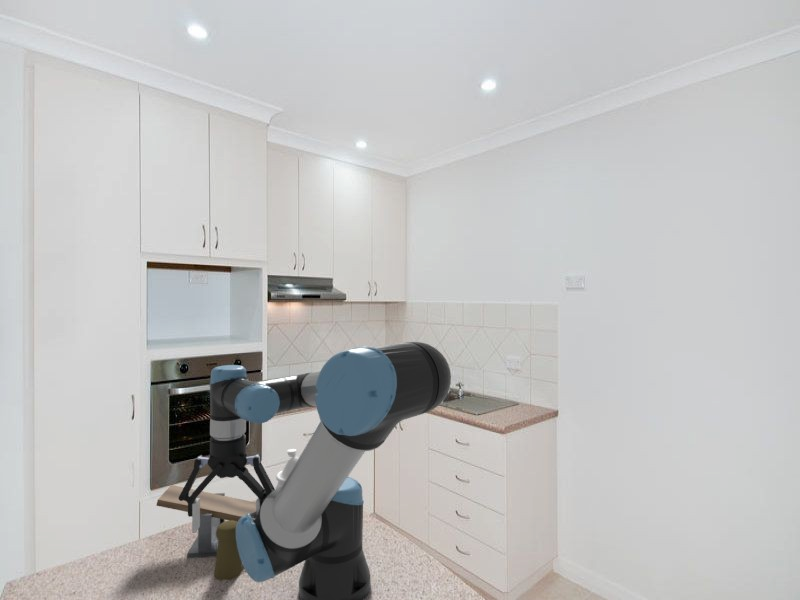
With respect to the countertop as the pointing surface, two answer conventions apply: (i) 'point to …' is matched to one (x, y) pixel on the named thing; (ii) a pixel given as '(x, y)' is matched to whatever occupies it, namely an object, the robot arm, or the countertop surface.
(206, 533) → the seesaw stand
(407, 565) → the countertop surface
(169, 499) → the seesaw plank
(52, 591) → the countertop surface
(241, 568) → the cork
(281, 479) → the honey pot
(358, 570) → the robot arm
